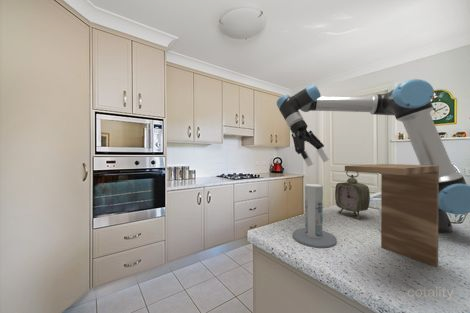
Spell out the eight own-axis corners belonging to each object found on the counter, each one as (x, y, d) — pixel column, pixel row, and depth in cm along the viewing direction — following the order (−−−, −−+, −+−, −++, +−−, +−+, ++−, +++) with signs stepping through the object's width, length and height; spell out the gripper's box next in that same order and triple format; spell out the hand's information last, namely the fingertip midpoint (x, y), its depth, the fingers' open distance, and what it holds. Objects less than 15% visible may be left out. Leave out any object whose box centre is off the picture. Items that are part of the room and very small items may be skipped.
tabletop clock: (335, 213, 110) (335, 168, 110) (346, 211, 114) (346, 168, 114) (360, 221, 97) (360, 170, 97) (371, 218, 100) (372, 170, 100)
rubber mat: (331, 232, 82) (331, 230, 82) (341, 250, 67) (341, 247, 67) (292, 228, 87) (292, 226, 87) (293, 244, 71) (293, 242, 71)
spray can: (308, 231, 81) (308, 183, 81) (324, 235, 77) (324, 184, 77) (302, 236, 76) (302, 185, 76) (320, 240, 72) (319, 186, 72)
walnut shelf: (383, 246, 70) (383, 163, 70) (438, 265, 58) (438, 165, 58) (344, 265, 58) (344, 165, 58) (403, 294, 46) (403, 168, 46)
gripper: (305, 127, 104) (325, 162, 98) (274, 129, 89) (296, 170, 82) (316, 119, 99) (339, 155, 92) (286, 119, 83) (310, 163, 77)
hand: (319, 163), depth 87 cm, fingers open, 13 cm apart
